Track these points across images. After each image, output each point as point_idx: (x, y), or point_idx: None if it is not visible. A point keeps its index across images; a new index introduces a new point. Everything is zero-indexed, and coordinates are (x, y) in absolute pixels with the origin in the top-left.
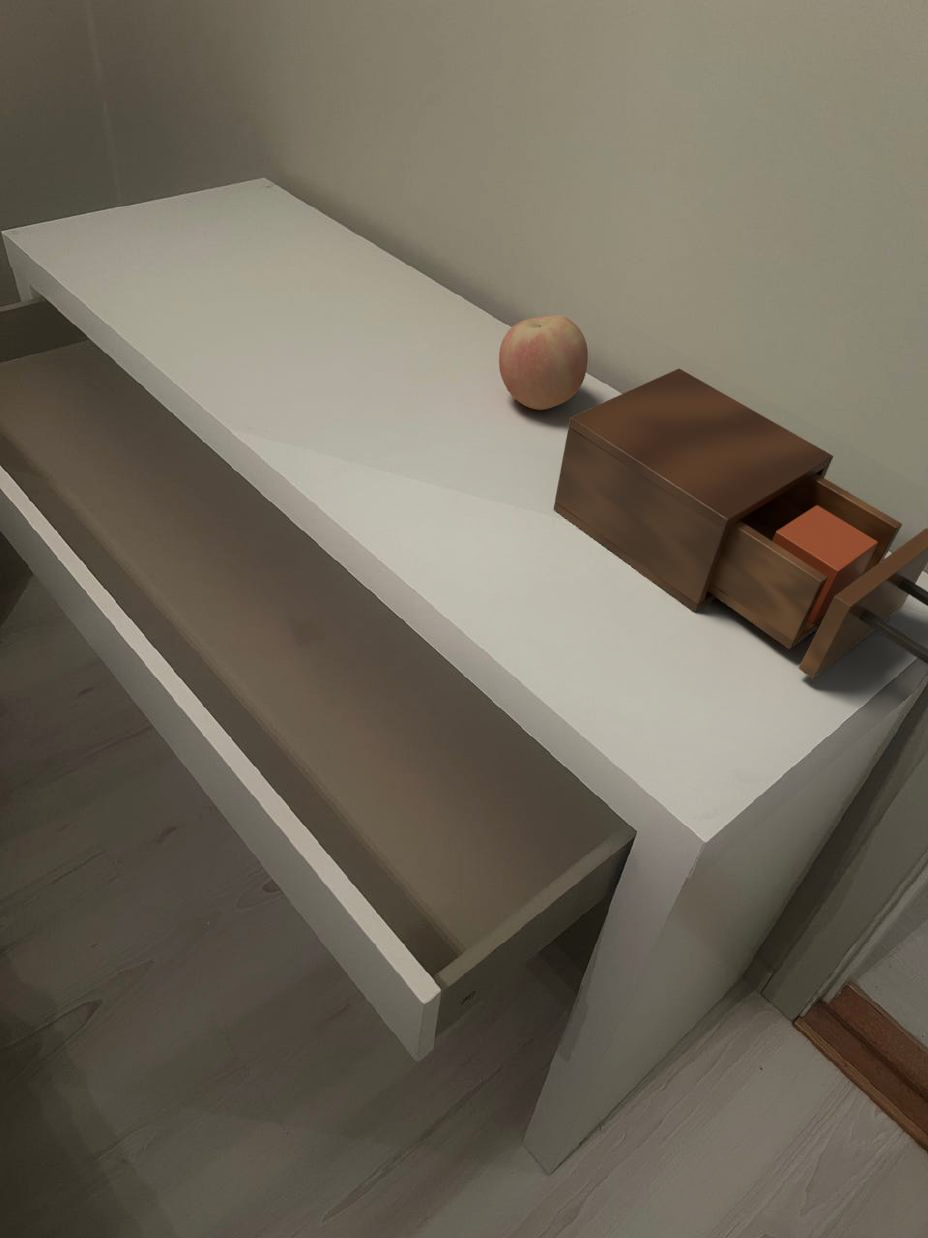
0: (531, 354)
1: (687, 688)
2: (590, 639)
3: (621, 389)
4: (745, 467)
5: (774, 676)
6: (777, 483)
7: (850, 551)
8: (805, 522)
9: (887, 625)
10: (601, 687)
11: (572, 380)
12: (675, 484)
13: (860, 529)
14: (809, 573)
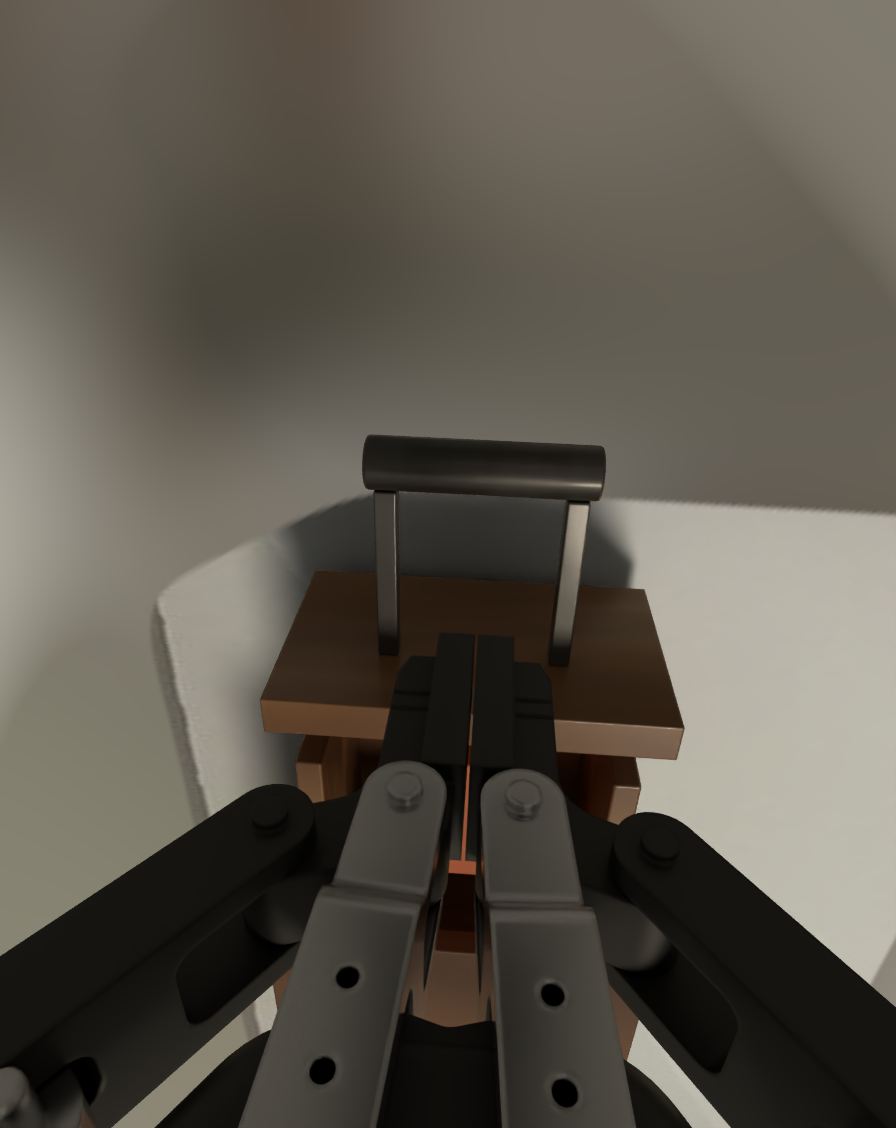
0: None
1: (794, 696)
2: (798, 825)
3: (250, 1031)
4: (467, 1004)
5: (657, 624)
6: (458, 960)
7: (467, 780)
8: (461, 861)
9: (562, 619)
10: (886, 772)
11: None
12: (627, 1043)
13: (336, 775)
14: (632, 809)
